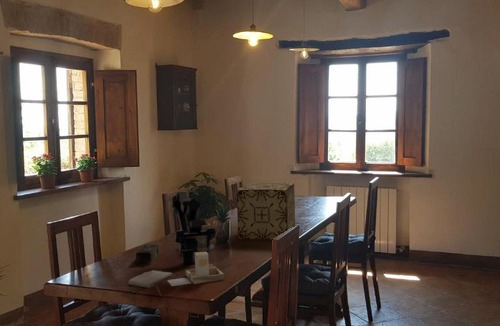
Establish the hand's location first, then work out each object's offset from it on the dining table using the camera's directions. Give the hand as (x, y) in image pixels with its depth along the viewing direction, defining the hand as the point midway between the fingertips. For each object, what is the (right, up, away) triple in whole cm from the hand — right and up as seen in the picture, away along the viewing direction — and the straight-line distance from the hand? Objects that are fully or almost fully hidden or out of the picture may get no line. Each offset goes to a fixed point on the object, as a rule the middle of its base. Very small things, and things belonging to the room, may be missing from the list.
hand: (198, 250), depth 233 cm
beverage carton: (-30, -11, +34) cm, 47 cm away
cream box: (+2, -12, -5) cm, 13 cm away
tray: (+3, -12, -1) cm, 13 cm away
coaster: (-8, -13, -7) cm, 17 cm away
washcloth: (-21, -14, -2) cm, 25 cm away
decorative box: (+35, -5, +86) cm, 93 cm away
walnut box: (+5, -12, +2) cm, 13 cm away
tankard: (-5, -8, +57) cm, 58 cm away
